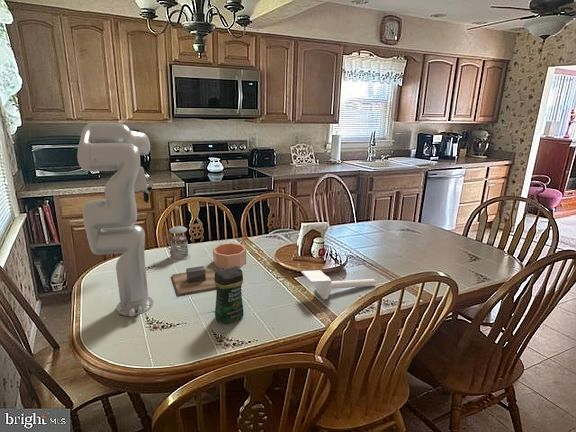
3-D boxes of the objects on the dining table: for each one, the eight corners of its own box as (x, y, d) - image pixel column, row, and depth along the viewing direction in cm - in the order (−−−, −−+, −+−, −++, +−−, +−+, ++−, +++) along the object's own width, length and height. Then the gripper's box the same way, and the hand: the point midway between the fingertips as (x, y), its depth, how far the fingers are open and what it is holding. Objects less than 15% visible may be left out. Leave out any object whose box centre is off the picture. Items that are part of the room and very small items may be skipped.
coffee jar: (222, 327, 129) (221, 277, 123) (212, 316, 135) (209, 268, 129) (247, 318, 135) (246, 270, 129) (236, 308, 141) (235, 261, 135)
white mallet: (301, 271, 150) (369, 268, 163) (298, 291, 152) (365, 286, 165) (311, 281, 142) (382, 277, 154) (308, 302, 144) (377, 297, 157)
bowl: (249, 266, 173) (249, 252, 171) (218, 271, 168) (218, 257, 166) (240, 255, 185) (239, 241, 183) (211, 259, 180) (210, 245, 178)
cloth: (222, 287, 153) (221, 274, 151) (178, 295, 147) (177, 281, 145) (212, 270, 168) (211, 257, 166) (172, 276, 161) (171, 263, 160)
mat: (223, 289, 153) (223, 288, 153) (177, 298, 146) (177, 296, 146) (213, 270, 169) (213, 269, 169) (170, 277, 162) (170, 276, 162)
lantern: (193, 258, 181) (190, 207, 173) (169, 263, 175) (165, 211, 167) (186, 251, 189) (183, 202, 181) (162, 256, 182) (158, 206, 174)
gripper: (112, 168, 152) (117, 209, 158) (154, 163, 163) (158, 202, 169) (106, 165, 158) (111, 205, 163) (147, 161, 169) (151, 198, 174)
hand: (135, 203), depth 166 cm, fingers open, 9 cm apart
